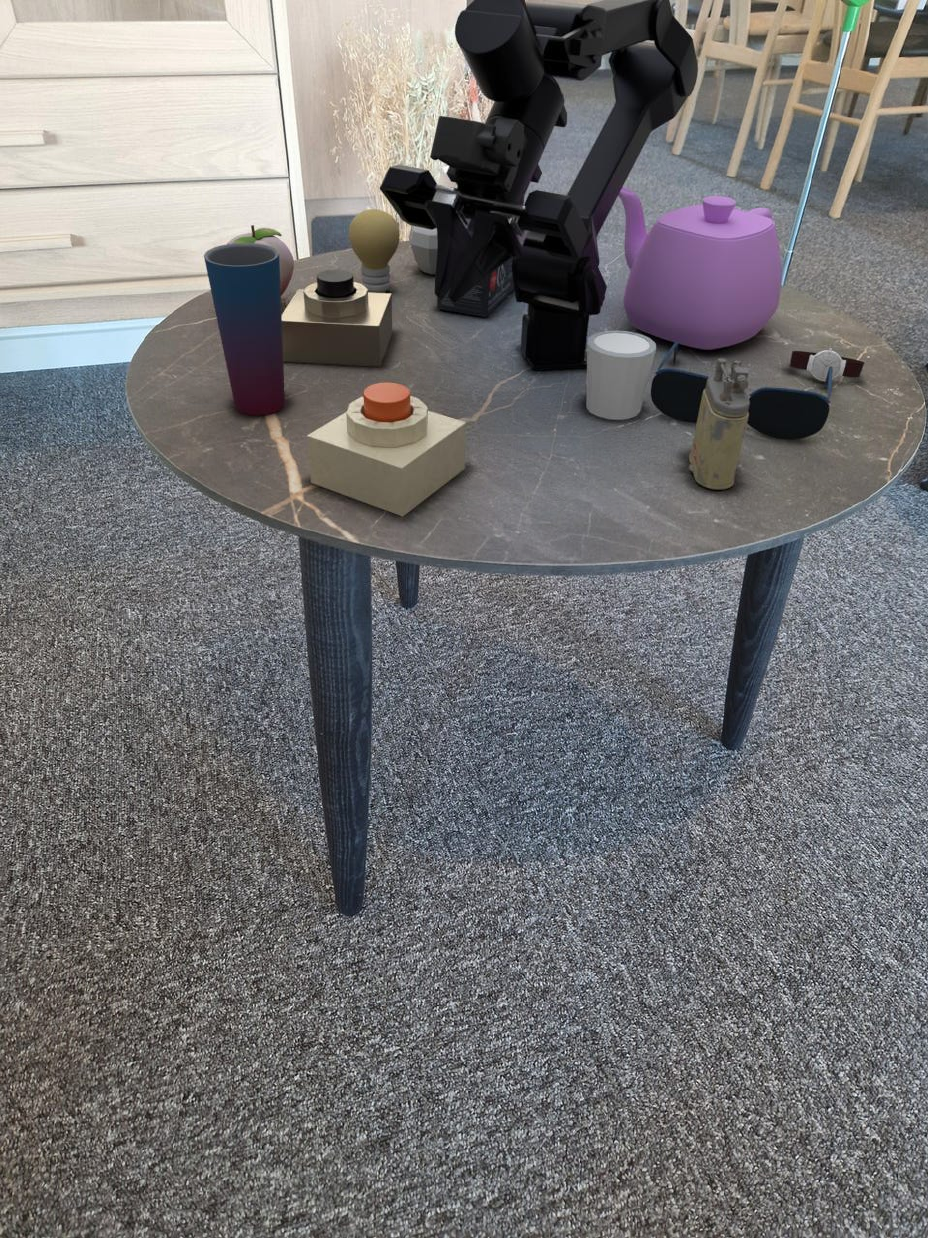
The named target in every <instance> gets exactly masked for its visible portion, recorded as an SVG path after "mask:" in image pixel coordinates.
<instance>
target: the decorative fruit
mask: <svg viewBox="0 0 928 1238" xmlns="http://www.w3.org/2000/svg"><path fill="white" fill-rule="evenodd" d="M250 228H251V232H246V233H242V234H239V235H236V236H234V237H233V238H231V239H230V240H229V241H228V242H226V244H233V243H258V244H264V245H268V246H271V247H274V248H275V249H277V250H278V252H279V260H280V287H281V297H282V296H283V295H284V293H285V292H286V290H287V289H288V287H289V284H290V282H291V280H292V277H293V274H294V268H295V261H294V257H293V253H292V252H291V250H290V248H289V247H288V245H287V244H286V243H285V242H284V241H283V240H282V239H280V238H278V237H283V236H282V234H281V232H280V231H277V230H276V229H274V228H269V227H261V228H257V229H255V224H252V225H250ZM277 236H278V237H277Z"/></svg>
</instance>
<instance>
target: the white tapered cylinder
mask: <svg viewBox="0 0 928 1238" xmlns="http://www.w3.org/2000/svg"><path fill="white" fill-rule="evenodd" d="M656 351H657V344H656V342H655V341H654V340H653V339H651V337H649V336H646V335H644V334H641V333H638V332H632V331H629V330H604V331H600V332H599V331H598V332H596V333H593V334H591V335H590V336H589V337H587V353H586V354H587V355H586V358H587V367H586V399H585V400H586V401H585V402H586V404H585V405H586V406H585V408H586V409H587V410H588V412H589V413H590V414H592V415H594V416H596V417H599V418H603V419H607V420H612V421H613V420H614V421H615V420H617V421H622V420H629V419H632V418H635V417H637V416H638V415H639V414H640V413H641V410H642V407H643V406H642V405H643V402H644V398H645V394H646V390H647V386H648V382H649V378H650V375H651V371H652V367H653V364H654V363H653V362H654V359H655V355H656Z"/></svg>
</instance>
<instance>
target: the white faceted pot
mask: <svg viewBox="0 0 928 1238" xmlns="http://www.w3.org/2000/svg"><path fill="white" fill-rule="evenodd" d="M408 241H409V245H410V248H411V251H412V255H413V258H414V260H415V262H416V264H417V266H418V268H419V269H420V270H421V271H422V272H423V273H426V274H429V275H433V276H434V275H435V276H436V262H437V228H435V229H433V230H430V229H426V228H421V227H416V226H412V225H410V229H409V233H408Z"/></svg>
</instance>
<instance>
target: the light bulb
mask: <svg viewBox="0 0 928 1238" xmlns="http://www.w3.org/2000/svg"><path fill="white" fill-rule="evenodd" d="M400 235H401V234H400V229H399V225H398V223H397V221H396V219H395V218H394V217H393V215H391V214H390V213H388V212H386V211H385V210H382V209H377V208H368V209H365V210H363V211H361V212H359V213H357V214H356V215H355V216H354V218H353V219H352V220H351V222H350V225H349V229H348V242H349V244H350V248H351V249H352V251H353V252H354V254H355V256H356V257H357V259H358V260H359V261H360V262H361V265H360V272H361V273H360V278H361V283H360V284H362V285H364V286H365V287H366V288H367V289H368V292H369V293H386V292H388V290H389V289H390V288H391V281H390V280H391V274H390V272H391V267H390V265H389V262H390V261H391V259H392V258H393V256H394V255H395V253H396V252H397V249H398V247H399V244H400V237H401V236H400Z"/></svg>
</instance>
